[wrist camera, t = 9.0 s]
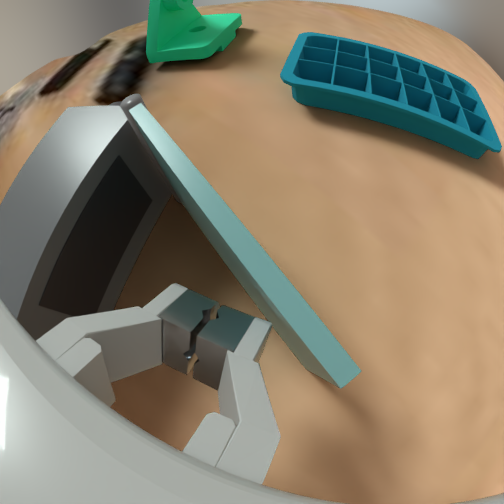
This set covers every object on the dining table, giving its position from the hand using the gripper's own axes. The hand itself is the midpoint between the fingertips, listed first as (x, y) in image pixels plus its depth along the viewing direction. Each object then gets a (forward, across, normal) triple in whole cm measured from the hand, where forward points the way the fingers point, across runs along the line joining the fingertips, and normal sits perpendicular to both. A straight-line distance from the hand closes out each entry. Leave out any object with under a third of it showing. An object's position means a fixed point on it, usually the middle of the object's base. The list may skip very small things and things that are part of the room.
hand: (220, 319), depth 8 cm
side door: (+7, +2, +2) cm, 7 cm away
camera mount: (+24, +18, -15) cm, 34 cm away
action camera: (+6, +11, +3) cm, 13 cm away
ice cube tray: (+22, -5, -12) cm, 25 cm away
